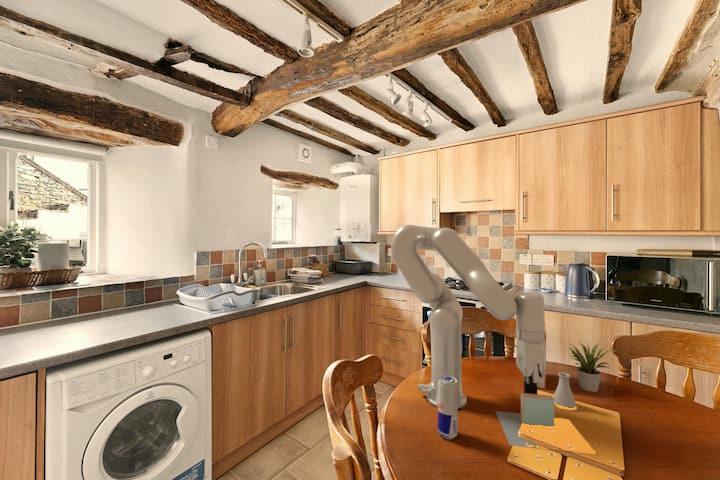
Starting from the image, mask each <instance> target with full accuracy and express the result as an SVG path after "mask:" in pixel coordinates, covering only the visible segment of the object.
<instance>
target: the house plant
mask: <svg viewBox="0 0 720 480" xmlns="http://www.w3.org/2000/svg"><path fill="white" fill-rule="evenodd" d="M577 342H578V343H579V344H580V345H581V348H582V350H583V353H584V355H583V354H582V353H581V351H580V350H579V349H578V348H577V347H576V346H575V345H573V344H572V343H569V342H568V344H569V345H571V346H572V347H573V348H572V347H569V346H568V347H569V350H570V351H571V353H572V355H570V356H569V357H570V358H571V359H573V360H574V361H577V362H578V363H577V362H576V363H574V365H577V366H578V367H576V372H577V378H578V384H579V387H580V388H581V389H582V390H585V391H586V392H594V393H595V392H599V387H600V381H601V376H602V371H601V370H599V369H597V368H608V369H609V367H608V366H606V365H609V366H610V364H609V363H608V362H604V361H603V362H600V363H598V364H597V362H598V361H599V359H601V358H603V356H606V355H607V354H608V353H611V352H617V350H614V349H612V350H611V349H609V350H605V351H603V350H604V348H603V347H602V348H600V347H599V345H601V342H600V343H599V342H598V343H596V344H595V345H594V346H593V348H592V349H590V346H589V344H588V343H586V345H585V344H583V343H582V342H581V341H578V340H577ZM598 347H599V348H598ZM597 350H598V351H597ZM584 356H585V357H584ZM596 364H597V365H596Z"/></svg>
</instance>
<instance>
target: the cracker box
mask: <svg viewBox="0 0 720 480" xmlns="http://www.w3.org/2000/svg"><path fill="white" fill-rule="evenodd" d="M542 348H543V360H544V375H543V377H542V378H540V377H539V383H538V385H537V389H541V390H542V389H543V390H546V379H547V378H546V375H547V328H546V325H545V342H544V343H542Z"/></svg>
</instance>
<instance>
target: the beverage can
mask: <svg viewBox="0 0 720 480" xmlns="http://www.w3.org/2000/svg"><path fill="white" fill-rule="evenodd" d="M458 418H459V417H458V409H457V380H456V379H455V378H453V377H450V376H440V377H439V378H438V407H437V432H438V433H439V435H440V436H441V437H442V438H444V439H446V440H453V439H455V438H456V437H457V436H458V428H459V427H458V426H459V425H458V421H459V420H458Z"/></svg>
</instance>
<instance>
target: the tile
mask: <svg viewBox="0 0 720 480" xmlns="http://www.w3.org/2000/svg"><path fill="white" fill-rule="evenodd" d="M520 414H521V422H522V423H524V424H529V425H543V426H555V425H554V417H555V406H554V398H553V395H548V394H540V393H539V394H538V393H537V394H528V393H524V392H520Z"/></svg>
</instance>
